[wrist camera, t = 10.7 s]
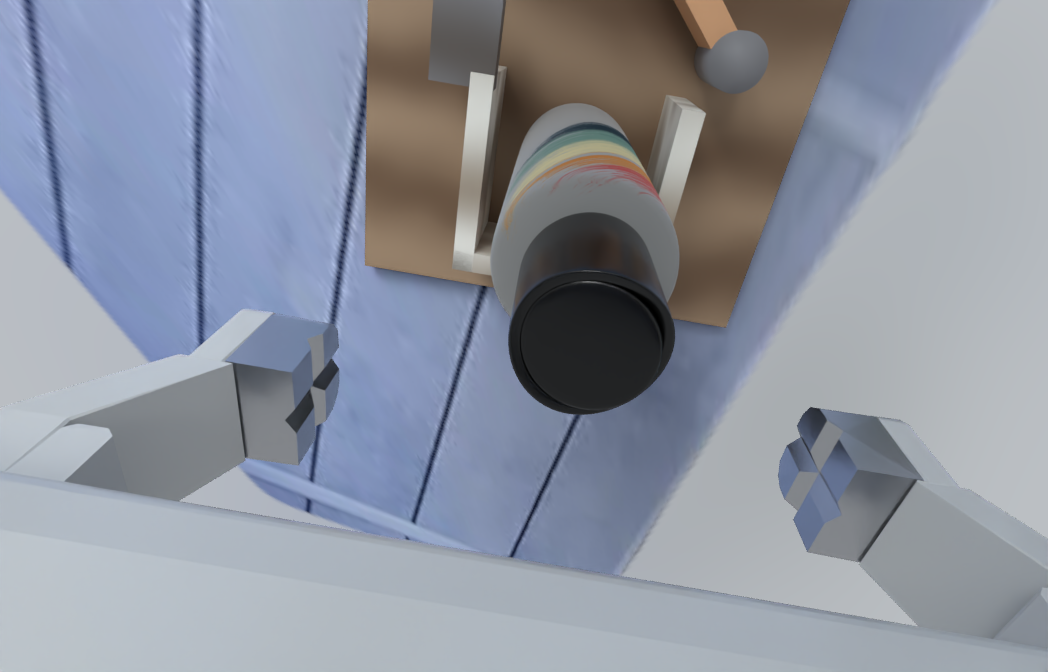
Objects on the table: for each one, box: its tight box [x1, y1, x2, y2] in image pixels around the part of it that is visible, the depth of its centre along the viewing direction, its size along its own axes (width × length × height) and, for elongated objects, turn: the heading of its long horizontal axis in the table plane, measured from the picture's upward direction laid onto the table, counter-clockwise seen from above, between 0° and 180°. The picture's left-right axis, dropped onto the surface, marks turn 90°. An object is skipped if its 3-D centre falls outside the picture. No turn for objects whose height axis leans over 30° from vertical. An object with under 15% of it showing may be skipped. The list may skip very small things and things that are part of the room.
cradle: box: [365, 0, 850, 328], centre depth 27 cm, size 20×22×6 cm
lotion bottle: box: [490, 103, 679, 415], centre depth 21 cm, size 6×6×20 cm
